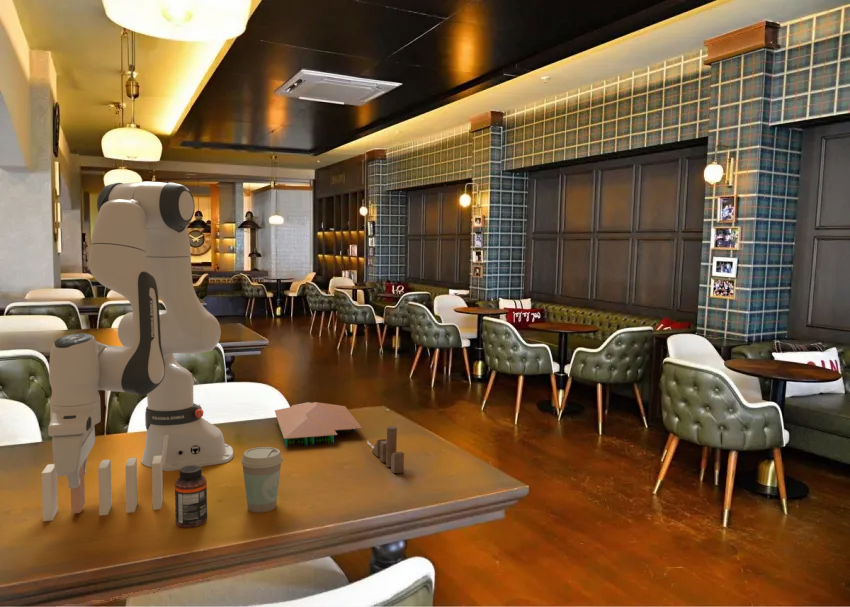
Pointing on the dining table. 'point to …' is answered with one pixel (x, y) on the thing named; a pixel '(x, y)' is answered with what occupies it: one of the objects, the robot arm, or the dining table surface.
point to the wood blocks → (389, 451)
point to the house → (314, 421)
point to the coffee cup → (261, 477)
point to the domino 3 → (131, 485)
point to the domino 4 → (157, 482)
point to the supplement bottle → (191, 497)
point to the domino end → (49, 492)
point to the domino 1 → (78, 494)
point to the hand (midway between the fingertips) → (77, 481)
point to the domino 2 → (104, 487)
